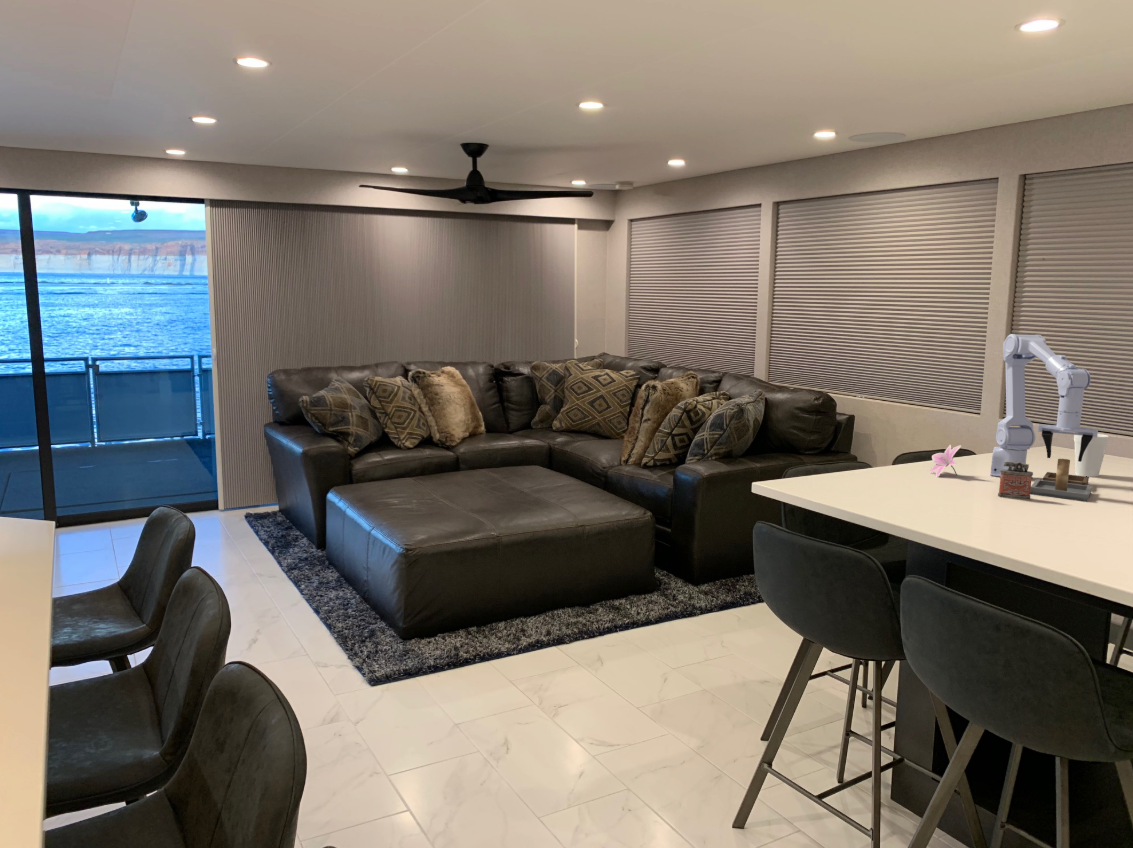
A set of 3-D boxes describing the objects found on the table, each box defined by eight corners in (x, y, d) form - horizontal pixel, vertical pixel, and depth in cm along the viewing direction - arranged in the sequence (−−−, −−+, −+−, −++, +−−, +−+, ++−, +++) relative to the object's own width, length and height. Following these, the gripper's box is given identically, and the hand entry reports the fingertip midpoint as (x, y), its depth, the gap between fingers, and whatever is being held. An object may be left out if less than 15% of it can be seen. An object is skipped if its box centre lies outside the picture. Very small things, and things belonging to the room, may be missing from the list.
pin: (1054, 490, 245) (1057, 459, 243) (1055, 489, 247) (1058, 458, 246) (1066, 492, 243) (1069, 461, 242) (1067, 490, 245) (1070, 459, 244)
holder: (1042, 485, 255) (1043, 477, 255) (1046, 479, 264) (1047, 471, 264) (1085, 491, 249) (1086, 482, 249) (1087, 485, 258) (1088, 476, 258)
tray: (1029, 494, 243) (1030, 487, 243) (1035, 485, 255) (1036, 479, 254) (1087, 501, 236) (1088, 494, 235) (1090, 492, 247) (1091, 486, 247)
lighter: (1029, 497, 239) (1032, 462, 237) (1031, 500, 236) (1035, 464, 234) (996, 494, 241) (1000, 459, 240) (998, 497, 238) (1002, 461, 237)
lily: (932, 472, 277) (921, 447, 274) (970, 462, 271) (960, 436, 269) (933, 491, 266) (922, 465, 264) (973, 480, 261) (962, 454, 258)
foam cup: (1104, 479, 268) (1109, 438, 266) (1070, 475, 272) (1074, 435, 270) (1103, 474, 276) (1107, 434, 274) (1069, 470, 280) (1074, 431, 278)
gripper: (1038, 410, 243) (1033, 457, 245) (1098, 415, 234) (1093, 464, 236) (1041, 408, 248) (1036, 454, 250) (1100, 413, 240) (1094, 461, 242)
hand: (1064, 459), depth 244 cm, fingers open, 7 cm apart
